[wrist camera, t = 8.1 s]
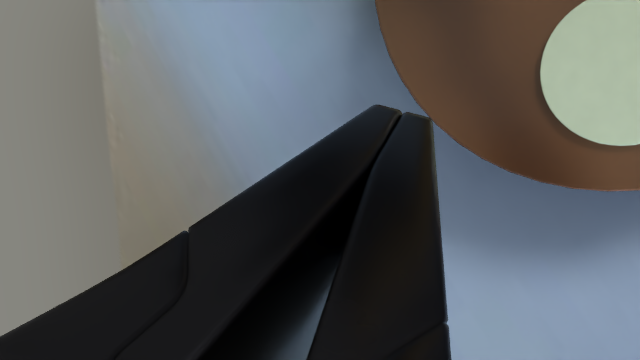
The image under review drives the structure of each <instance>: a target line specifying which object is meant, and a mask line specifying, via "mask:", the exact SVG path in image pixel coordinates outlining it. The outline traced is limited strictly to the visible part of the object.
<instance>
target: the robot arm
mask: <svg viewBox="0 0 640 360" xmlns="http://www.w3.org/2000/svg"><path fill="white" fill-rule="evenodd" d="M447 321H448V315H447V303H446V290H445V277H444V264H443V251H442V238H441V225H440V212H439V199H438V186H437V174H436V161H435V148H434V135H433V123H432V120H431V119H430V118H429V117H425V116H421V115H417V114H414V113H410V112H406V113H404V114H403V115H402V112H401V111H400V110H398V109H394V108H390V107H386V106H382V105H373V106H371V107H370V108H368V109H367V110H365V111H364V112H362V113H361V114H359V115H358V116H356V117H355V118H353V119H352V120H350V121H349V122H347V123H346V124H344V125H343V126H341V127H340V128H338V129H337V130H335V131H334V132H332V133H331V134H329V135H327V136H326V137H324V138H323V139H321V140H320V141H318V142H317V143H315V144H314V145H312V146H311V147H309V148H308V149H306V150H305V151H303V152H302V153H300V154H299V155H297V156H296V157H294V158H293V159H291V160H290V161H288V162H287V163H285V164H284V165H282V166H281V167H279V168H278V169H276V170H275V171H273V172H272V173H270V174H269V175H267V176H266V177H264V178H263V179H261V180H260V181H258V182H257V183H255V184H254V185H252V186H251V187H249V188H248V189H246V190H245V191H243V192H242V193H240V194H239V195H237V196H236V197H234V198H233V199H231V200H230V201H228V202H227V203H225V204H224V205H222V206H221V207H219V208H218V209H216V210H215V211H213V212H212V213H210V214H209V215H207V216H206V217H204V218H203V219H201V220H200V221H198V222H197V223H195V224H193V225H192V226H190V227H189V230H188V232H187V231H183V232H181V233H180V234H178V235H177V236H175V237H174V238H172V239H171V240H169V241H167V242H166V243H164V244H163V245H161V246H160V247H158V248H157V249H155V250H154V251H152V252H150V253H149V254H147V255H146V256H144V257H142V258H141V259H139V260H138V261H136V262H134V263H133V264H131V265H130V266H128V267H127V268H125V269H123V270H121V271H120V272H118V273H116V274H114V275H113V276H111V277H109V278H107V279H105V280H104V281H102V282H100V283H99V284H97V285H95V286H93V287H91V288H90V289H88V290H86V291H84V292H83V293H81V294H79V295H77V296H75V297H73V298H71V299H70V300H68V301H66V302H64V303H62V304H60V305H58V306H56V307H55V308H53V309H51V310H49V311H47V312H45V313H44V314H42V315H40V316H38V317H36V318H34V319H32V320H31V321H29V322H27V323H25V324H23V325H21V326H19V327H17V328H16V329H14V330H12V331H10V332H8V333H6V334H4V335H2V336H1V337H0V360H451V351H450V337H449V327H448V325H447Z"/></svg>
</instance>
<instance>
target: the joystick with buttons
mask: <svg viewBox="0 0 640 360" xmlns="http://www.w3.org/2000/svg"><path fill="white" fill-rule="evenodd" d="M375 5H376V10H377V15H378V20H379V25H380V30H381V33H382V36H383V39H384V41H385V44H386V47H387V50H388V53H389V56H390V58H391V60H392V62H393V64H394V66H395V68H396V70H397V72H398V74H399V76H400V78H401V80H402V82H403V83H404V85H405V86H406V88H407V89H408V91H409V92H410V94H411V95H412V97H413V98H414V100H415V101H416V103H417V104H418V105H419V106H420V107H421V108H422V109H423V111H424V112H425V113H426V114H427V115H428V116H429V117H430V118H431V119H432V121H433V122H434V123H435V124H436V125H437V126H438V127H440V128H441V129H442V130H443V131H444V132H445V133H447V134H448V135H449V136H450V137H451V138H452V139H454V140H455V141H456V142H457V143H459V144H460V145H462V146H463V147H465V148H466V149H468V150H469V151H471V152H473V153H474V154H476V155H477V156H479V157H480V158H482V159H484V160H486V161H488V162H490V163H492V164H494V165H496V166H498V167H500V168H503V169H505V170H507V171H509V172H511V173H514V174H517V175H521V176H524V177H527V178H530V179H533V180H536V181H539V182H543V183H548V184H553V185H558V186H563V187H567V188H572V189H584V190H597V191H632V190H640V0H375Z"/></svg>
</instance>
